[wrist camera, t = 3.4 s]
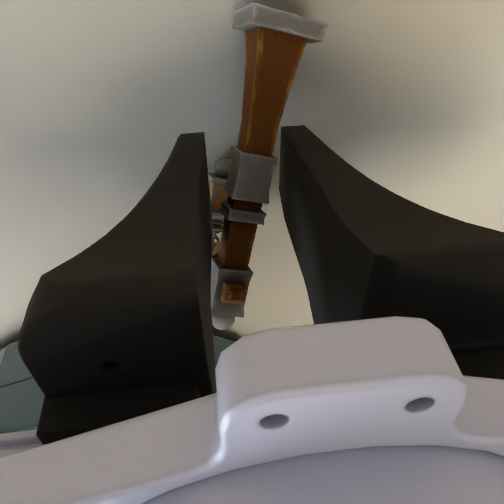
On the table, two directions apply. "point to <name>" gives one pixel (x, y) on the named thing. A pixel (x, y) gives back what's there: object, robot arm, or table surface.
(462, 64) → the table surface
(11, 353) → the bowl
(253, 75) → the wooden post with brackets
